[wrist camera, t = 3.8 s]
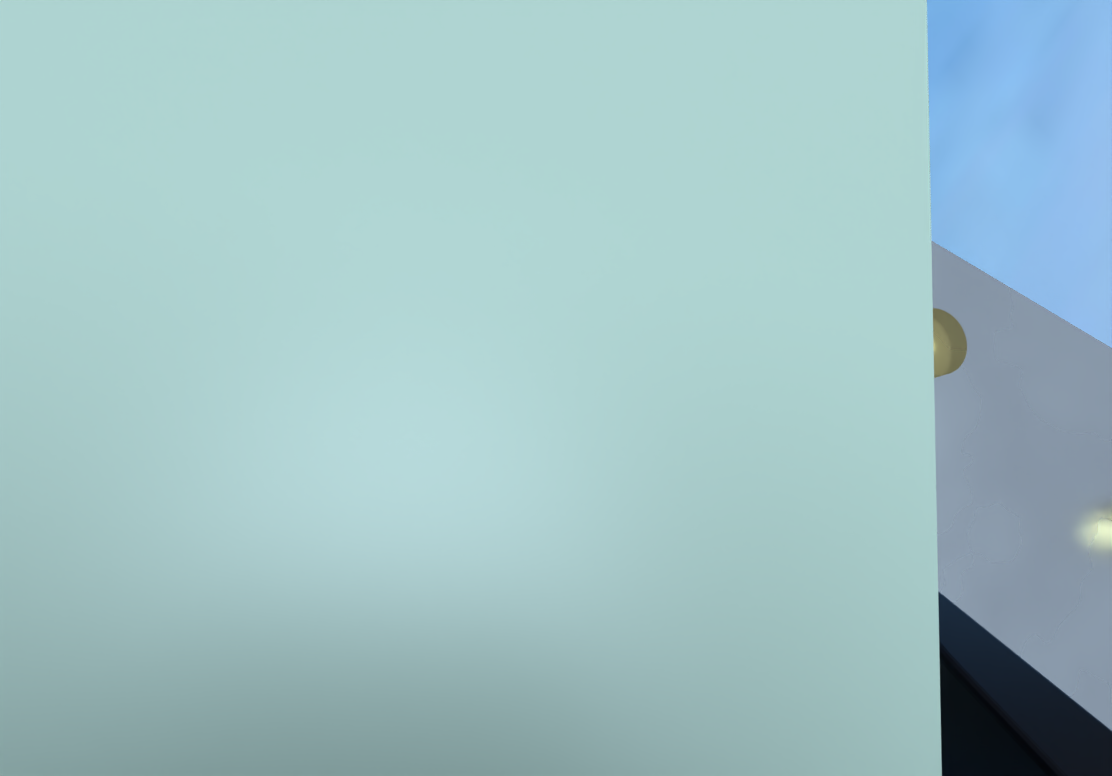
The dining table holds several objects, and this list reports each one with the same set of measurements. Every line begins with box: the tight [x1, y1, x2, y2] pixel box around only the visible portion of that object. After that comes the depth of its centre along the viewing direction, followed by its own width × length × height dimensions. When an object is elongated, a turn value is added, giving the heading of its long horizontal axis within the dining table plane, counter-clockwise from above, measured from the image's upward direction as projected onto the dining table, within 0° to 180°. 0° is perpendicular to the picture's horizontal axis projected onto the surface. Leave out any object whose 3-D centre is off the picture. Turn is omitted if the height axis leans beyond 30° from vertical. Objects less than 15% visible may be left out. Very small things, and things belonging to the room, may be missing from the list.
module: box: [0, 0, 942, 776], centre depth 10 cm, size 6×5×13 cm
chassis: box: [931, 241, 1112, 730], centre depth 17 cm, size 16×13×2 cm
